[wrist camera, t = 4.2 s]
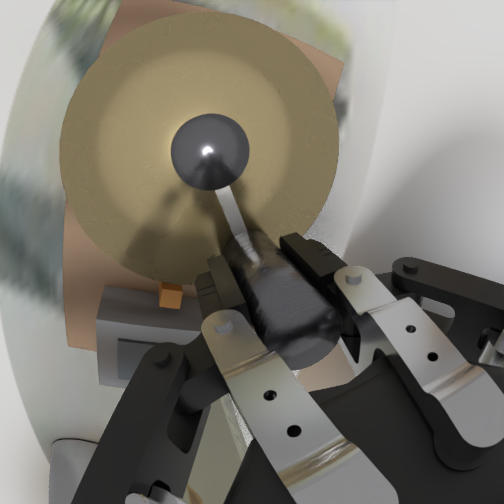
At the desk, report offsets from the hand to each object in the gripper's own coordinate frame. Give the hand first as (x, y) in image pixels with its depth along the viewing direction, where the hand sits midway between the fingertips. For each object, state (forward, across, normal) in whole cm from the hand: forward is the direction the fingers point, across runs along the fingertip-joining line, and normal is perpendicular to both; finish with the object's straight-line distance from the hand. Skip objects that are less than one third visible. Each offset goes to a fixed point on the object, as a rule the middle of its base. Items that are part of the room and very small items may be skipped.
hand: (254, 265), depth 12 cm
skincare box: (+5, +6, +13) cm, 16 cm away
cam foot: (+3, +1, -5) cm, 6 cm away
